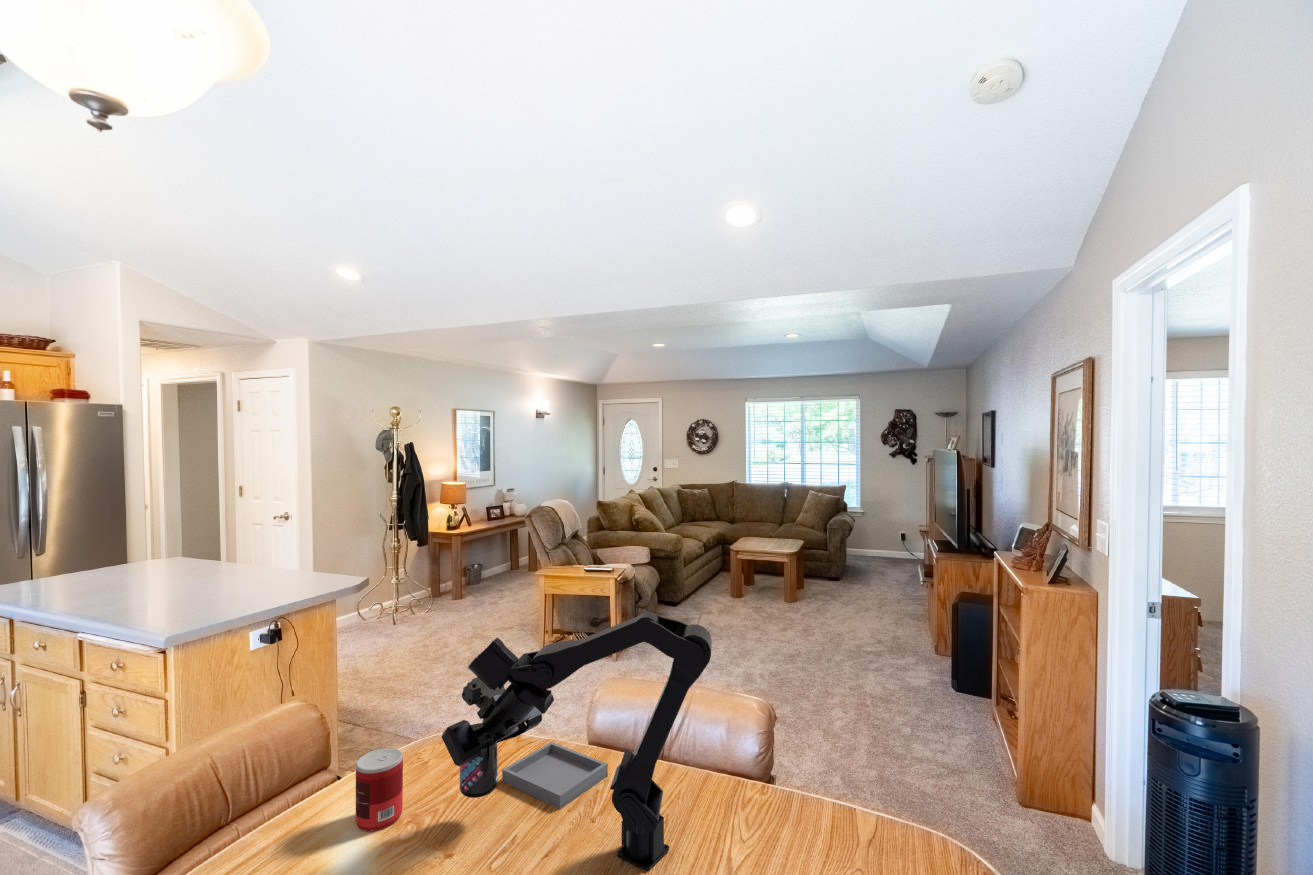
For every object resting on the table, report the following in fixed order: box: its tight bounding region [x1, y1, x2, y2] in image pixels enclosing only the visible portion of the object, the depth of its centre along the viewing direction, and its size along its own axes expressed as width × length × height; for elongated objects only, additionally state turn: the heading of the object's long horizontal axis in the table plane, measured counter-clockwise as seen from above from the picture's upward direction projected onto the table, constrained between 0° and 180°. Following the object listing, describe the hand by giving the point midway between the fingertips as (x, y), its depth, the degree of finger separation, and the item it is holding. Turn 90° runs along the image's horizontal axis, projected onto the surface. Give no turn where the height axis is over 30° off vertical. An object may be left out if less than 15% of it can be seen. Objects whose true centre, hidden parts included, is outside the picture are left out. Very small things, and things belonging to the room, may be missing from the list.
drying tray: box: [501, 741, 609, 810], centre depth 125 cm, size 16×14×2 cm
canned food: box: [355, 747, 404, 832], centre depth 112 cm, size 8×8×11 cm
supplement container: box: [459, 722, 498, 799], centre depth 111 cm, size 7×7×10 cm
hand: (473, 749), depth 112 cm, fingers closed on supplement container, 7 cm apart
